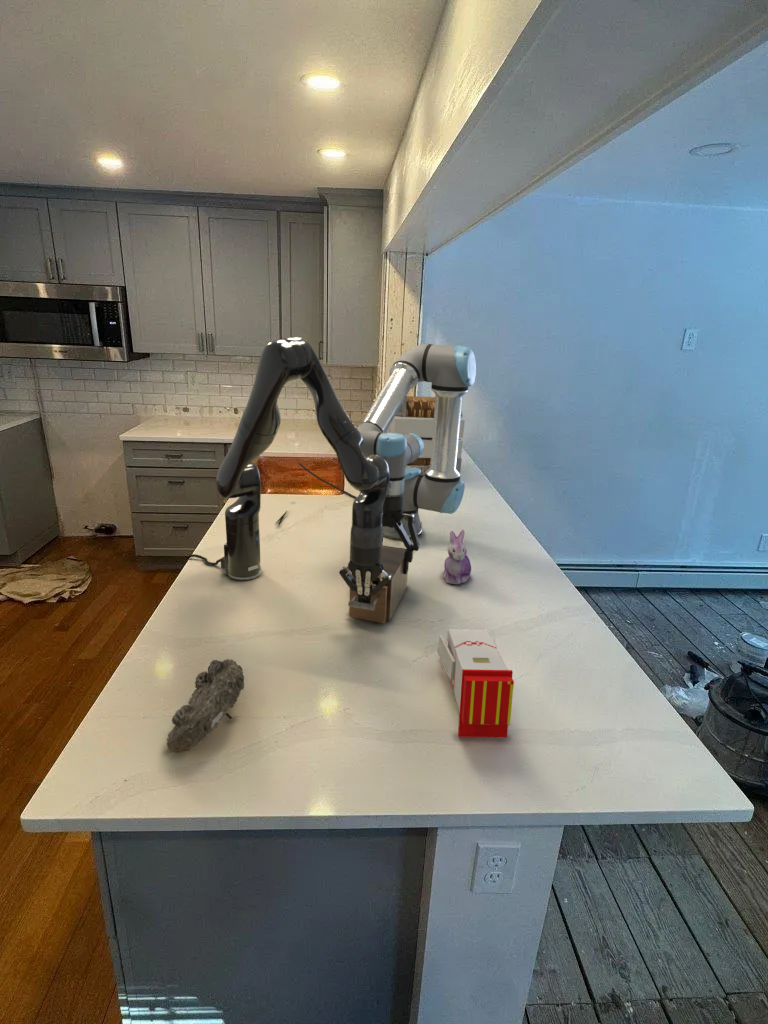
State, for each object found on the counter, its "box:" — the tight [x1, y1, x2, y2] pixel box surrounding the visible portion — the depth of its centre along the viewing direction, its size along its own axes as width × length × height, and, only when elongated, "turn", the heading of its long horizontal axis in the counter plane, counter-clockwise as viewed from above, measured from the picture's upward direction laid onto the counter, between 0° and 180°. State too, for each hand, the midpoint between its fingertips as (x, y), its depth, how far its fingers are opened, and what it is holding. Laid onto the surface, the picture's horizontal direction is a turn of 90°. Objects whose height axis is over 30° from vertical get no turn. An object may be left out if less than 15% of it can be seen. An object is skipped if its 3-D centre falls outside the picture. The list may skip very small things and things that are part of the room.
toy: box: [437, 628, 515, 738], centre depth 117 cm, size 12×13×30 cm
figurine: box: [442, 529, 472, 585], centre depth 166 cm, size 9×10×15 cm
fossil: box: [166, 658, 245, 754], centre depth 106 cm, size 22×10×15 cm
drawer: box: [347, 581, 387, 624], centre depth 146 cm, size 24×9×10 cm, turn 165°
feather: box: [274, 510, 288, 528], centre depth 213 cm, size 2×28×2 cm
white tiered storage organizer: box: [386, 395, 465, 475], centre depth 268 cm, size 34×33×41 cm
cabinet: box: [351, 544, 409, 622], centre depth 152 cm, size 20×10×12 cm, turn 165°
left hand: (364, 606), depth 138 cm, fingers closed
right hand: (386, 569), depth 157 cm, fingers closed on cabinet, 10 cm apart
